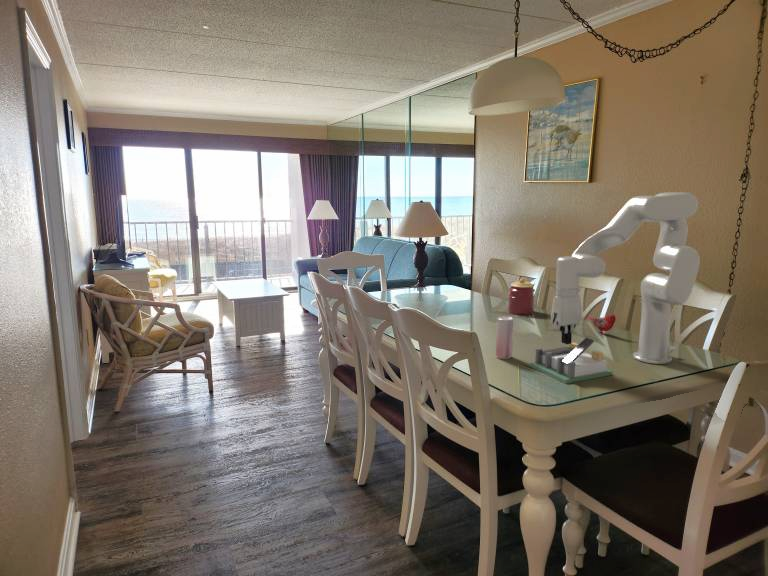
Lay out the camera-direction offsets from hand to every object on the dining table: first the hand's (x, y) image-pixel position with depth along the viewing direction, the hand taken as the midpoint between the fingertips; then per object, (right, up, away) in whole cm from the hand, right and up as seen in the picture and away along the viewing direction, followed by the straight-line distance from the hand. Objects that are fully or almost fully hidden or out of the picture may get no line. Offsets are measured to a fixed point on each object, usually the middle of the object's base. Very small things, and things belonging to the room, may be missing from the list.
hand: (566, 343), depth 182 cm
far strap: (-3, -3, -1) cm, 5 cm away
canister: (+6, +7, +82) cm, 82 cm away
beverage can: (-20, -7, +11) cm, 23 cm away
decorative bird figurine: (+29, 0, +41) cm, 51 cm away
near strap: (0, -2, -12) cm, 12 cm away
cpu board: (0, -9, -4) cm, 10 cm away
